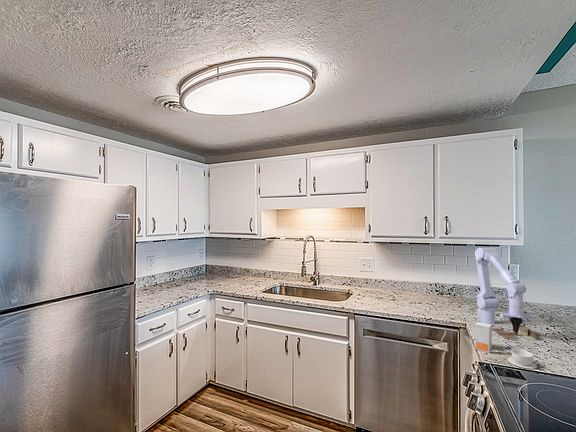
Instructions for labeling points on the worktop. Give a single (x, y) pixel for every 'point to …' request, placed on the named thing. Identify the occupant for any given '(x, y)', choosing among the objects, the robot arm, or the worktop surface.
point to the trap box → (510, 335)
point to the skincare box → (483, 337)
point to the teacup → (522, 359)
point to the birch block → (522, 330)
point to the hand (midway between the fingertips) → (515, 332)
